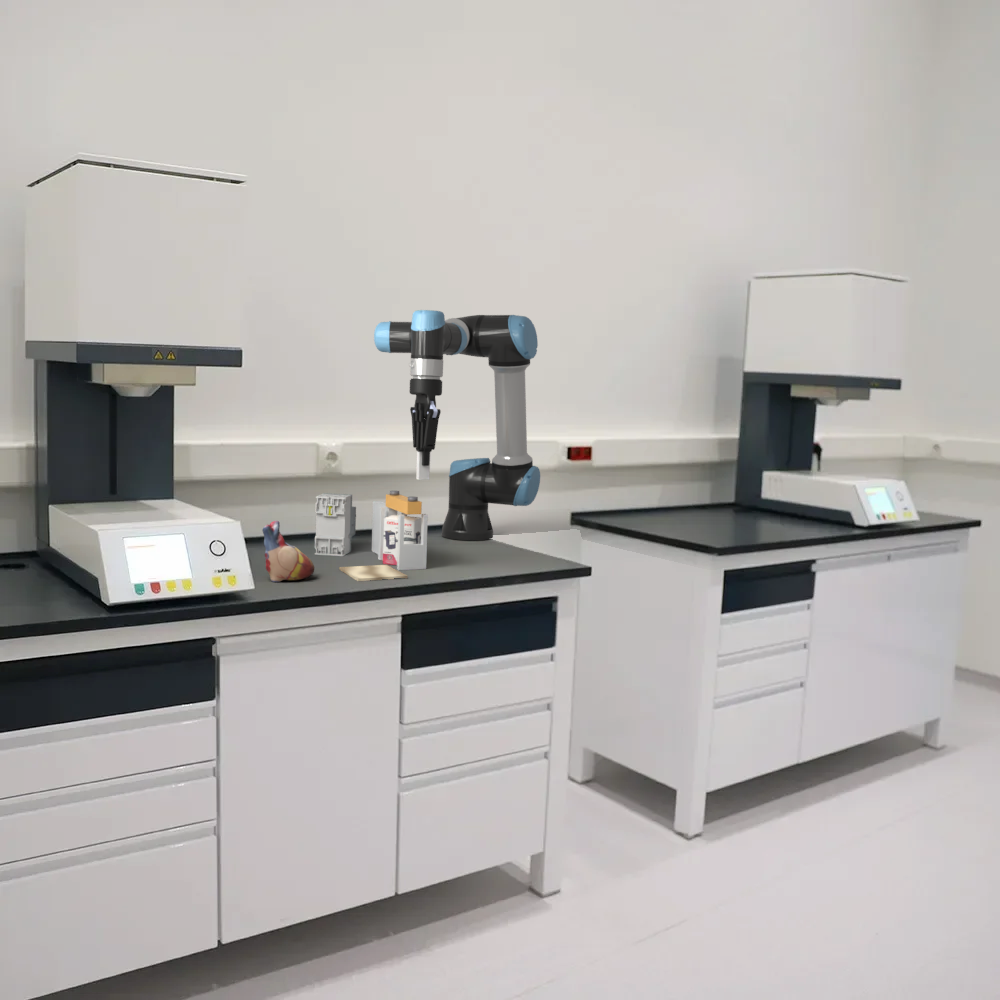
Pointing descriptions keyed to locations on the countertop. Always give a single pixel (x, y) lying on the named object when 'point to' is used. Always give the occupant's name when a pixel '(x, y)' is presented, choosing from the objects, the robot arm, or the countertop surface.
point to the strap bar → (403, 503)
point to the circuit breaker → (334, 524)
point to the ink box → (391, 536)
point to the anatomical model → (284, 557)
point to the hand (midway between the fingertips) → (422, 479)
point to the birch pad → (372, 572)
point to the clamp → (399, 538)
